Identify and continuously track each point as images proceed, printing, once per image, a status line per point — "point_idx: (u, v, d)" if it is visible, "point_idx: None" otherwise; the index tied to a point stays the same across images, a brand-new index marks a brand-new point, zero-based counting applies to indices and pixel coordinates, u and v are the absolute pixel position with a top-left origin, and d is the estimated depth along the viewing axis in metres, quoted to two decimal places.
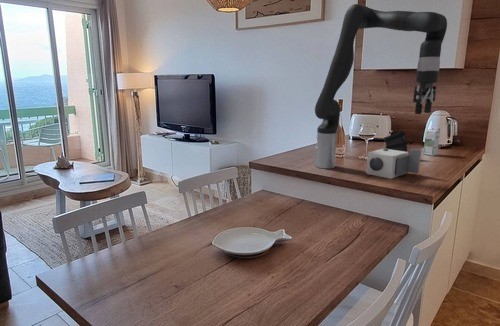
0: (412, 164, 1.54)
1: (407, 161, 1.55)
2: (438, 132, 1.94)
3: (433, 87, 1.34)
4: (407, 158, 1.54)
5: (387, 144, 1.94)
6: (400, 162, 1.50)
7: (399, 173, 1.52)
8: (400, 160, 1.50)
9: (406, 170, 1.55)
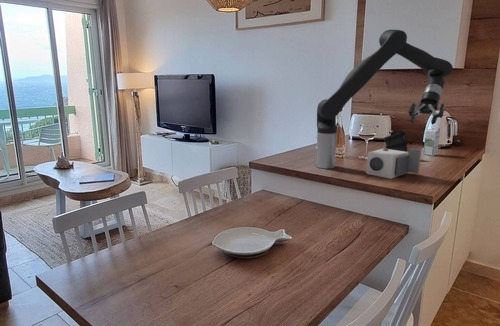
0: (412, 164, 1.54)
1: (407, 161, 1.55)
2: (438, 132, 1.94)
3: None
4: (407, 158, 1.54)
5: (387, 144, 1.94)
6: (400, 162, 1.50)
7: (399, 173, 1.52)
8: (400, 160, 1.50)
9: (406, 170, 1.55)
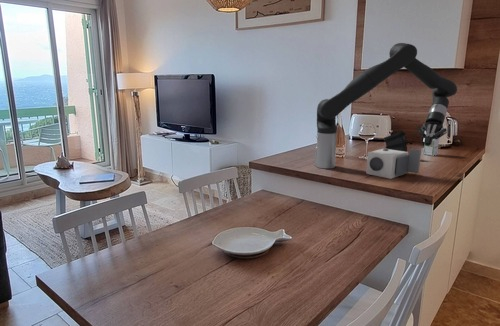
0: (412, 164, 1.54)
1: (407, 161, 1.55)
2: None
3: None
4: (407, 158, 1.54)
5: (387, 144, 1.94)
6: (400, 162, 1.50)
7: (399, 173, 1.52)
8: (400, 160, 1.50)
9: (406, 170, 1.55)
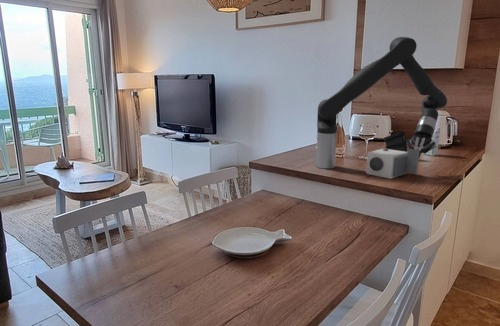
0: (410, 165, 1.53)
1: (405, 162, 1.54)
2: (438, 132, 1.94)
3: None
4: (405, 159, 1.53)
5: (387, 144, 1.94)
6: (398, 163, 1.49)
7: (397, 174, 1.51)
8: (398, 161, 1.49)
9: (404, 171, 1.54)
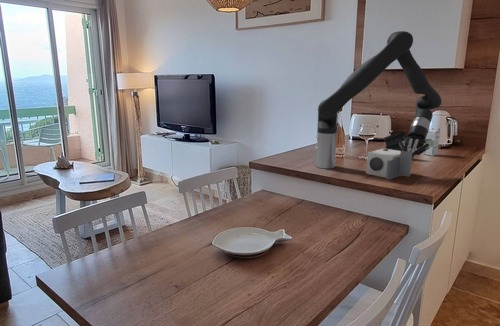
0: (403, 167, 1.49)
1: (398, 164, 1.49)
2: (438, 132, 1.94)
3: None
4: (398, 161, 1.49)
5: (387, 144, 1.94)
6: (390, 165, 1.45)
7: (389, 176, 1.46)
8: (390, 163, 1.45)
9: (397, 173, 1.50)
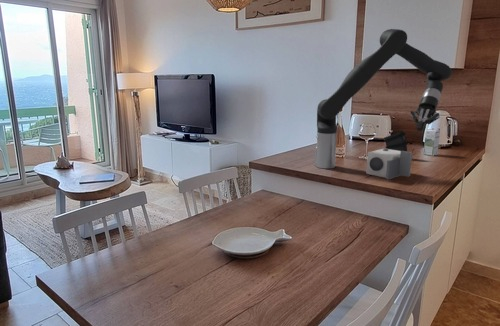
0: (403, 167, 1.49)
1: (398, 164, 1.49)
2: (438, 132, 1.94)
3: None
4: (398, 161, 1.49)
5: (387, 144, 1.94)
6: (390, 165, 1.45)
7: (389, 176, 1.46)
8: (390, 163, 1.45)
9: (397, 173, 1.50)
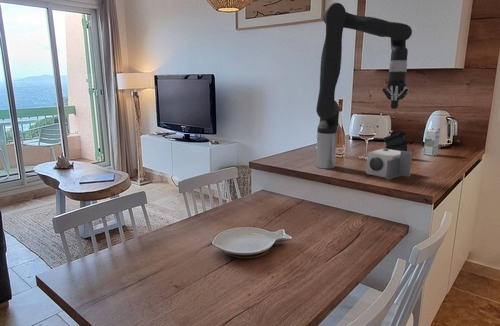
0: (403, 167, 1.49)
1: (398, 164, 1.49)
2: (438, 132, 1.94)
3: None
4: (398, 161, 1.49)
5: (387, 144, 1.94)
6: (390, 165, 1.45)
7: (389, 176, 1.46)
8: (390, 163, 1.45)
9: (397, 173, 1.50)
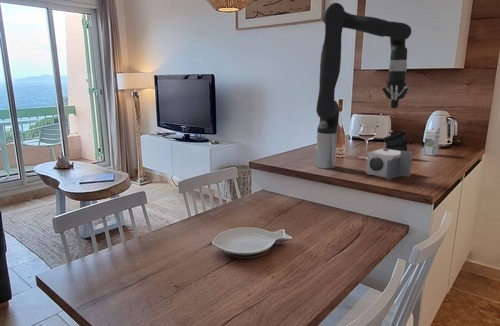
0: (403, 167, 1.49)
1: (398, 164, 1.49)
2: (438, 132, 1.94)
3: None
4: (398, 161, 1.49)
5: (387, 144, 1.94)
6: (390, 165, 1.45)
7: (389, 176, 1.46)
8: (390, 163, 1.45)
9: (397, 173, 1.50)
